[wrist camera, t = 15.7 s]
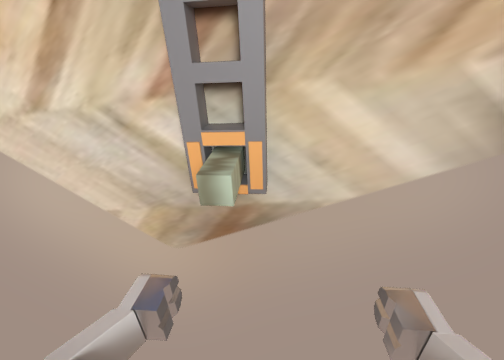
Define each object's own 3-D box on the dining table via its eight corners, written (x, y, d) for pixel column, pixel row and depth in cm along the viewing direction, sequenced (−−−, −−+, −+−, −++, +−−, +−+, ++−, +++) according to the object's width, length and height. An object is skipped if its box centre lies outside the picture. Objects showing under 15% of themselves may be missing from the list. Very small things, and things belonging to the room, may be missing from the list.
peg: (243, 143, 40) (231, 175, 29) (245, 168, 42) (233, 206, 31) (217, 144, 40) (195, 175, 30) (220, 168, 42) (200, 205, 32)
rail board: (264, -14, 30) (262, -25, 26) (267, 182, 43) (266, 194, 39) (169, -7, 31) (154, -16, 27) (199, 181, 44) (192, 193, 40)
